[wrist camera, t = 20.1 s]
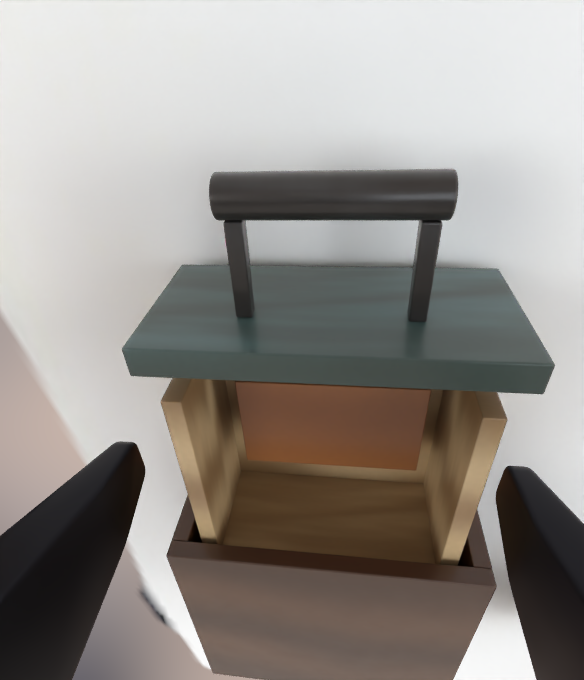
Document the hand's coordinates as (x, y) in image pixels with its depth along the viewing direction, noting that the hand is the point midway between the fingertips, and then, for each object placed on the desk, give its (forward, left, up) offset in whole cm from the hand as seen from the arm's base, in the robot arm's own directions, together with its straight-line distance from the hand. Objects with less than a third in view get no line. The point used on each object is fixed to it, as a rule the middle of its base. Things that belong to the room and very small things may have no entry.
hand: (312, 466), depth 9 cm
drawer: (-5, 0, -11) cm, 12 cm away
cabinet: (-19, 0, -12) cm, 23 cm away
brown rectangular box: (-7, 0, -10) cm, 12 cm away
